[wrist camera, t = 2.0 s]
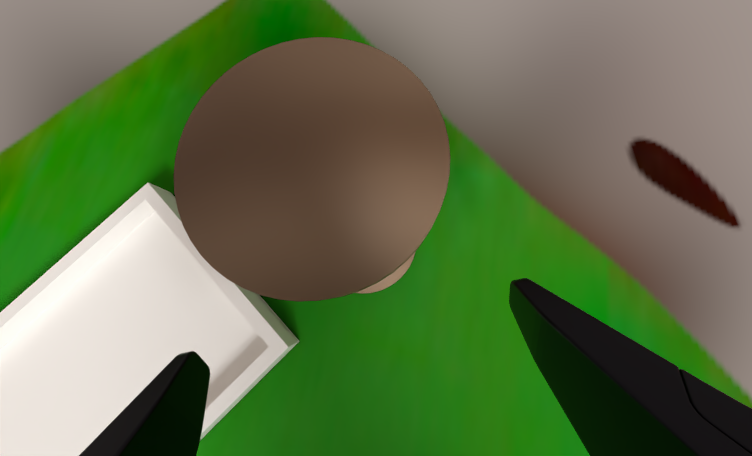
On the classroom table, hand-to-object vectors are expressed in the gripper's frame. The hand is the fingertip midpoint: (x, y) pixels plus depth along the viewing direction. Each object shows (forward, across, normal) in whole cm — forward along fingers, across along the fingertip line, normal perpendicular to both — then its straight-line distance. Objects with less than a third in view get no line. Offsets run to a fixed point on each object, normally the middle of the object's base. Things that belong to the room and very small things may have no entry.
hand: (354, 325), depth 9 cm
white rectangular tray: (+7, +18, +8) cm, 21 cm away
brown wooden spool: (+11, 0, +5) cm, 12 cm away
